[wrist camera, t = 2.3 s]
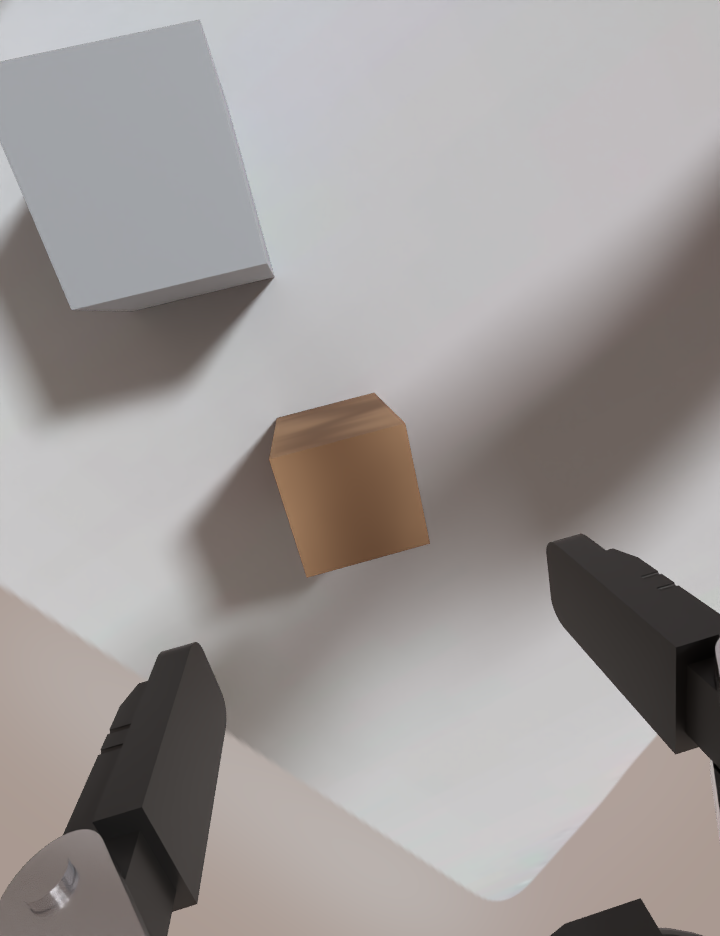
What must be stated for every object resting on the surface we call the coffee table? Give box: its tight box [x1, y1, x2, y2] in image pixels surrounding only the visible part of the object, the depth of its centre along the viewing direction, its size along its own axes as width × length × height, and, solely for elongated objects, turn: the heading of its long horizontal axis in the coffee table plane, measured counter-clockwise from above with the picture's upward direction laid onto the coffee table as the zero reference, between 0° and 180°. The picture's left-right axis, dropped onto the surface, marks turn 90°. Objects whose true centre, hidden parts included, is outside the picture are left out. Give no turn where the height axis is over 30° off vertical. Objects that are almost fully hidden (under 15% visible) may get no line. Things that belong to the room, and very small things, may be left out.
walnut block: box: [269, 393, 430, 577], centre depth 20 cm, size 5×5×7 cm
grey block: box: [0, 20, 274, 311], centre depth 17 cm, size 6×6×6 cm
